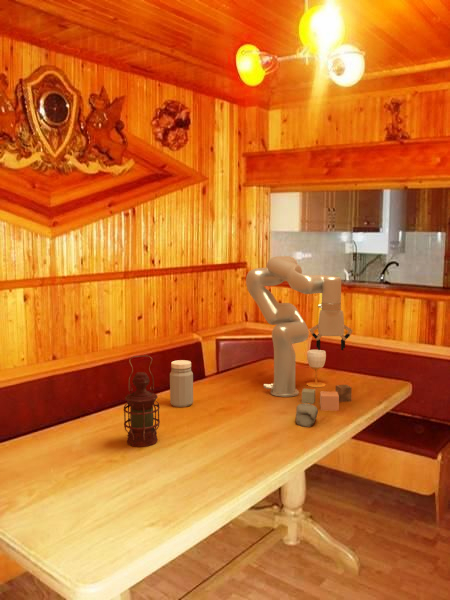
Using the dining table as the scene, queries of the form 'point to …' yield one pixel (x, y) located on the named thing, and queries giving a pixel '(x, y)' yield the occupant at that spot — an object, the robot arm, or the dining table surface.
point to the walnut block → (344, 392)
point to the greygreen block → (308, 396)
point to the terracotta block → (329, 401)
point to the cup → (316, 364)
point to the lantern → (141, 411)
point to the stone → (306, 415)
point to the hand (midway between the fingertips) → (330, 349)
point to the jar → (181, 383)
